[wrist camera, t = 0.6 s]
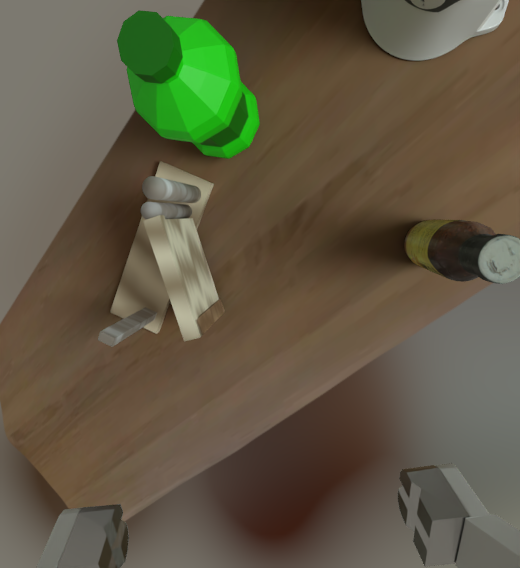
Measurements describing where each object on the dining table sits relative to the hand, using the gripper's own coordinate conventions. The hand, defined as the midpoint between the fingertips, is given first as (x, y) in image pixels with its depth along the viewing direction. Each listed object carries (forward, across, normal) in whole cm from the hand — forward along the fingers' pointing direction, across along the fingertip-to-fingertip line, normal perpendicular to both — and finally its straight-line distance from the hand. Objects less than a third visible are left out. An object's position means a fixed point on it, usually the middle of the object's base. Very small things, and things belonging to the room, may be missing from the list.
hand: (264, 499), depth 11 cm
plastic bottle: (+48, 0, -11) cm, 49 cm away
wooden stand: (+47, +11, +6) cm, 48 cm away
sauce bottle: (+39, -25, +5) cm, 46 cm away
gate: (+44, +5, +7) cm, 44 cm away
